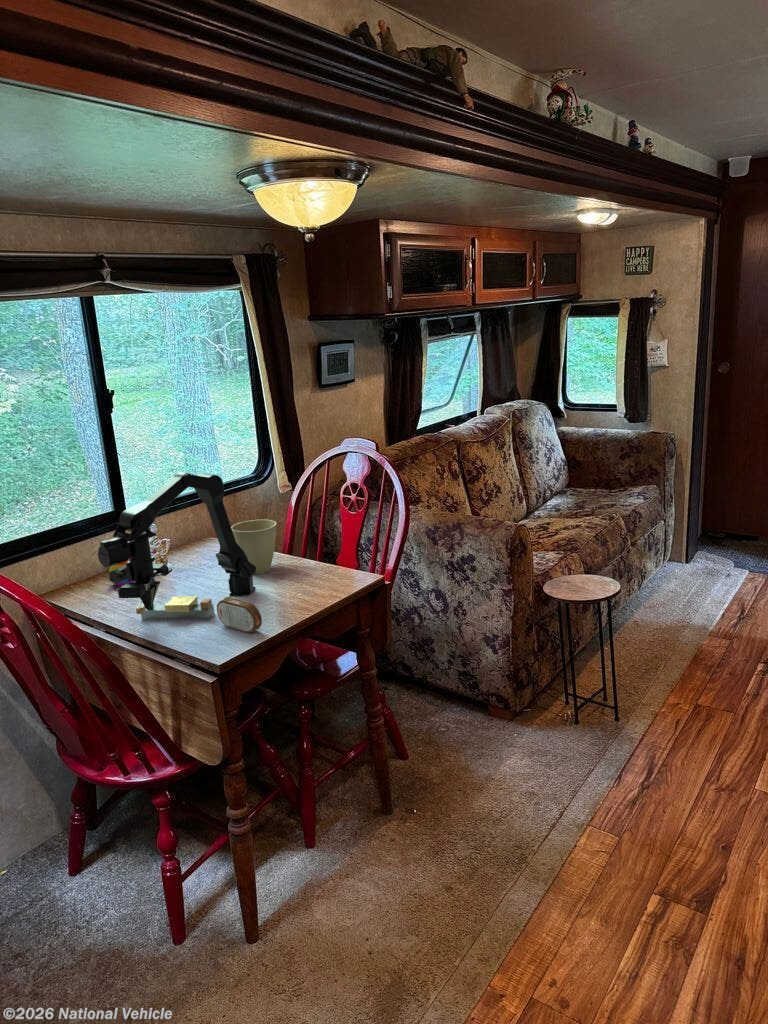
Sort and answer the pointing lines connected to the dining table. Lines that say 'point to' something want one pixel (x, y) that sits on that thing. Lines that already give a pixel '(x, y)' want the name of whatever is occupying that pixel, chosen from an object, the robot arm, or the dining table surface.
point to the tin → (239, 615)
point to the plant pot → (257, 542)
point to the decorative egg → (120, 567)
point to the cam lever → (141, 608)
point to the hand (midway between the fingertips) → (149, 609)
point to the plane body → (197, 613)
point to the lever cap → (181, 604)
